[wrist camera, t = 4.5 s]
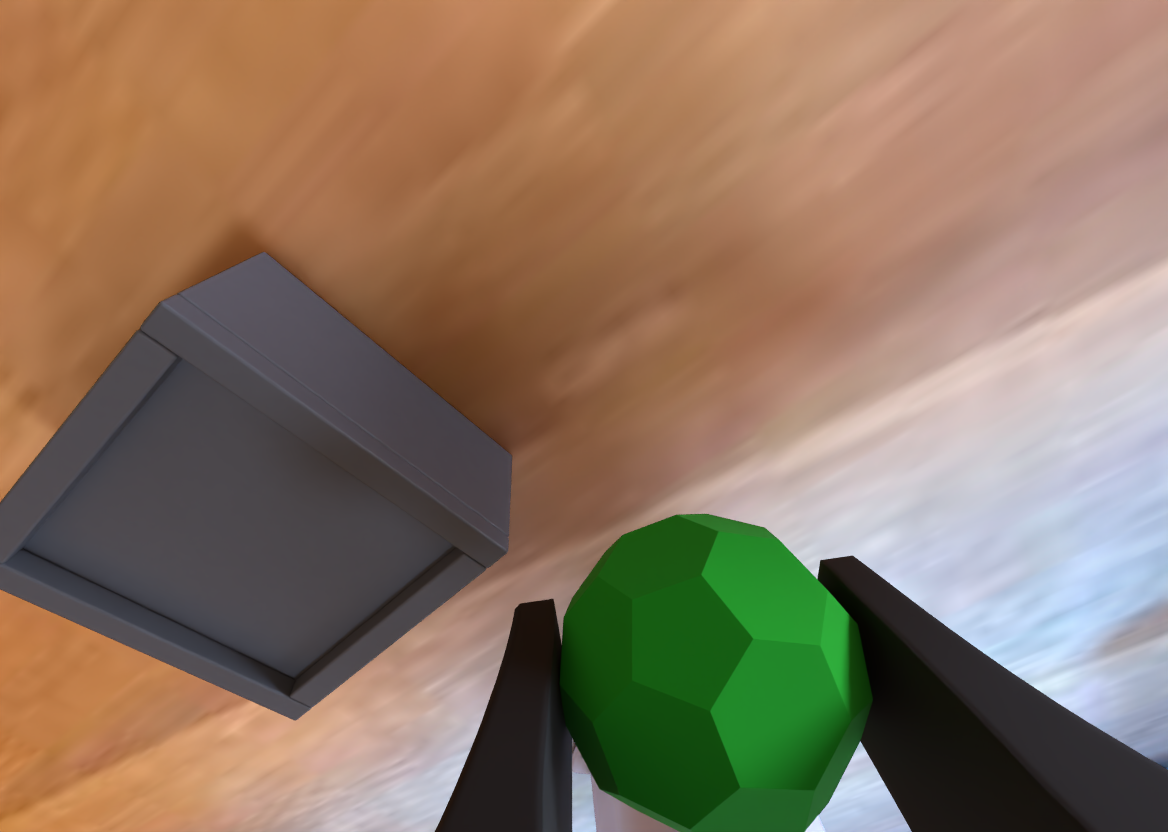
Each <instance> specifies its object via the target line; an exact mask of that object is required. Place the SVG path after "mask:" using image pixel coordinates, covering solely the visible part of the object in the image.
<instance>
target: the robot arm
mask: <svg viewBox="0 0 1168 832" xmlns="http://www.w3.org/2000/svg"><path fill="white" fill-rule="evenodd" d="M818 581H819V582H820V583H821V584H822V585H823V586H824V587H825V588H826V589H827V590H828V591H829V592H830V594H831V595H832V596H833V597H834V598H835V599H836V600H837V601H838V603H839V604H840V605H841V606H842V607H843V608H844V609H845V611H846V612H847V613H848V614H849V615H850V616H851V617H852V619H853V620H854V621H855V622H856V623H857V624H858V628H859V633H860V638H861V643H862V648H863V653H864V658H865V663H866V668H867V673H868V677H869V682H870V687H871V692H872V697H873V701H872V705H871V708H870V711H869V715H868V718H867V721H866V724H865V728H864V731H863V734H862V738H861V740H860V741H861V743H862V744H863V746H864V748H865V750H866V751H867V753H868V755H869V757H870V759H871V760H872V762H873V764H874V766H875V767H876V769H877V771H878V773H879V774H880V776H881V778H882V780H883V781H884V783H885V785H886V787H887V788H888V790H889V792H890V794H891V795H892V797H893V799H894V801H895V802H896V804H897V806H898V808H899V809H900V811H901V813H902V815H903V816H904V818H905V820H906V822H907V824H908V825H909V827H910V829H911V831H912V832H1168V769H1166V768H1164V767H1162V766H1160V765H1159V764H1157V763H1155V762H1153V761H1152V760H1150V759H1148V758H1147V757H1145V756H1143V755H1142V754H1140V753H1138V752H1137V751H1135V750H1133V749H1132V748H1130V747H1128V746H1127V745H1125V744H1123V743H1122V742H1120V741H1118V740H1117V739H1115V738H1113V737H1112V736H1110V735H1108V734H1107V733H1105V732H1103V731H1102V730H1100V729H1098V728H1097V727H1095V726H1093V725H1092V724H1090V723H1088V722H1087V721H1085V720H1083V719H1082V718H1080V717H1079V716H1077V715H1075V714H1074V713H1072V712H1071V711H1069V710H1068V709H1066V708H1064V707H1063V706H1061V705H1060V704H1058V703H1057V702H1055V701H1054V700H1052V699H1051V698H1049V697H1047V696H1046V695H1044V694H1043V693H1041V692H1040V691H1038V690H1037V689H1035V688H1034V687H1032V686H1031V685H1029V684H1028V683H1026V682H1025V681H1023V680H1022V679H1020V678H1019V677H1017V676H1016V675H1014V674H1013V673H1011V672H1010V671H1008V670H1007V669H1006V668H1004V667H1003V666H1001V665H1000V664H998V663H997V662H996V661H994V660H993V659H991V658H990V657H988V656H987V655H985V654H984V653H983V652H981V651H980V650H978V649H977V648H976V647H974V646H973V645H971V644H970V643H969V642H967V641H966V640H964V639H963V638H962V637H960V636H959V635H958V634H956V633H955V632H953V631H952V630H951V629H949V628H948V627H947V626H945V625H944V624H943V623H941V622H940V621H938V620H937V619H936V618H934V617H933V616H932V615H930V614H929V613H928V612H926V611H925V610H924V609H922V608H921V607H920V606H918V605H917V604H916V603H914V602H913V601H912V600H911V599H909V598H908V597H907V596H905V595H904V594H903V593H901V592H900V591H899V590H897V589H896V588H895V587H893V586H892V585H891V584H890V583H888V582H887V581H886V580H884V579H883V578H882V577H880V576H879V575H878V574H876V573H875V572H874V571H872V570H871V569H870V568H869V567H867V566H866V565H865V564H863V563H862V562H861V561H859V560H858V559H856V558H855V557H854V556H847V557H840V558H833V559H826V560H820V566H819V573H818ZM561 651H562V644H561V639H560V633H559V627H558V621H557V616H556V610H555V604H554V599H549V600H542V601H535V602H528V603H521V604H519V605H518V606H517V607H516V608H515V612H514V617H513V622H512V627H511V631H510V635H509V639H508V643H507V647H506V650H505V654H504V657H503V660H502V664H501V667H500V670H499V673H498V677H497V680H496V683H495V685H494V688H493V691H492V694H491V697H490V700H489V703H488V705H487V708H486V711H485V714H484V717H483V720H482V722H481V725H480V728H479V730H478V733H477V735H476V738H475V740H474V743H473V745H472V748H471V750H470V752H469V755H468V757H467V760H466V762H465V765H464V767H463V770H462V772H461V774H460V777H459V779H458V782H457V784H456V786H455V789H454V791H453V793H452V795H451V798H450V800H449V802H448V804H447V807H446V809H445V811H444V813H443V815H442V818H441V820H440V822H439V824H438V826H437V828H436V830H435V832H572V771H573V772H575V773H581V774H591V773H590V771H589V769H588V767H587V765H586V763H585V761H584V759H583V757H582V755H581V754H580V752H579V750H578V748H577V746H576V747H575V750H574V752H573V755H572V737H571V735H570V733H569V731H568V729H567V727H566V723H565V718H564V712H563V706H562V699H561V692H560V685H559V683H560V667H561ZM591 782H592V792H593V802H594V812H595V822H596V832H679V831H677V830H675V829H673V828H671V827H669V826H667V825H665V824H663V823H661V822H659V821H657V820H655V819H653V818H651V817H649V816H647V815H645V814H643V813H641V812H639V811H637V810H635V809H633V808H632V807H630V806H628V805H626V804H625V803H623V802H621V801H619V800H618V799H616V798H614V797H612V796H611V795H609V794H607V793H605V792H604V791H602V790H600V789H599V788H598V786H597V784H596V782H595V780H594V778H593V776H592V774H591ZM805 832H825V830H824V827H823V825H822V823H821V820H820V818H819V816H817V817H816V819H815V820H814V821H813V822H812V824H811V825H810V826H809V827H808V828H807V830H806V831H805Z"/></svg>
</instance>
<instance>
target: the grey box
mask: <svg viewBox="0 0 1168 832" xmlns="http://www.w3.org/2000/svg"><path fill="white" fill-rule="evenodd" d="M511 473H512V455H511V454H509V453H508V452H507V451H506V450H505V449H503V448H502V447H501V446H500V445H498V444H497V443H496V442H495V441H494V440H492V439H491V438H490V437H489V436H488V435H486V434H485V433H484V432H483V431H481V430H480V429H479V428H478V427H477V426H475V425H474V424H473V423H472V422H471V421H469V420H468V419H467V418H466V417H464V416H463V415H462V414H461V413H460V412H458V411H457V410H456V409H455V408H454V407H452V406H451V405H450V404H449V403H448V402H446V401H445V400H444V399H443V398H441V397H440V396H439V395H438V394H437V393H435V392H434V391H433V390H432V389H431V388H429V387H428V386H427V385H426V384H424V383H423V382H422V381H421V380H420V379H418V378H417V377H416V376H415V375H414V374H412V373H411V372H410V371H409V370H407V369H406V368H405V367H404V366H403V365H401V364H400V363H399V362H398V361H397V360H395V359H394V358H393V357H392V356H390V355H389V354H388V353H387V352H386V351H384V350H383V349H382V348H381V347H380V346H378V345H377V344H376V343H375V342H373V341H372V340H371V339H370V338H369V337H367V336H366V335H365V334H364V333H363V332H361V331H360V330H359V329H358V328H356V327H355V326H354V325H353V324H352V323H350V322H349V321H348V320H347V319H346V318H344V317H343V316H342V315H341V314H340V313H338V312H337V311H336V310H335V309H333V308H332V307H331V306H330V305H329V304H327V303H326V302H325V301H324V300H323V299H321V298H320V297H319V296H318V295H316V294H315V293H314V292H313V291H312V290H310V289H309V288H308V287H307V286H306V285H304V284H303V283H302V282H301V281H299V280H298V279H297V278H296V277H295V276H293V275H292V274H291V273H290V272H289V271H287V270H286V269H285V268H284V267H282V266H281V265H280V264H279V263H278V262H276V261H275V260H274V259H273V258H272V257H270V256H269V255H268V254H267V253H265V252H262V253H260V254H258V255H256V256H254V257H251V258H249V259H247V260H245V261H243V262H241V263H239V264H237V265H235V266H233V267H231V268H229V269H227V270H225V271H223V272H220V273H218V274H216V275H214V276H212V277H210V278H208V279H206V280H204V281H202V282H200V283H198V284H196V285H194V286H192V287H189V288H187V289H185V290H183V291H181V292H179V293H177V294H176V295H173V296H171V297H169V298H167V299H165V300H163V301H161V302H159V303H158V305H157V306H156V307H155V308H154V310H153V311H152V312H151V313H150V315H149V316H148V317H147V318H146V320H145V321H144V322H143V323H142V325H141V327H140V329H139V330H137V331H136V332H135V334H134V335H133V336H132V337H131V339H130V340H129V341H128V342H127V344H126V345H125V346H124V347H123V349H122V350H121V351H120V352H119V354H118V355H117V356H116V357H115V359H114V360H113V361H112V362H111V364H110V365H109V366H108V367H107V369H106V370H105V371H104V372H103V374H102V375H101V376H100V377H99V379H98V380H97V381H96V383H95V384H94V385H93V386H92V388H91V389H90V390H89V391H88V393H87V394H86V395H85V396H84V398H83V399H82V400H81V401H80V403H79V404H78V405H77V406H76V408H75V409H74V410H73V411H72V413H71V414H70V415H69V416H68V418H67V419H66V420H65V421H64V423H63V424H62V425H61V427H60V428H59V429H58V430H57V432H56V433H55V434H54V435H53V437H52V438H51V439H50V440H49V442H48V443H47V444H46V445H45V447H44V448H43V449H42V450H41V452H40V453H39V454H38V455H37V457H36V458H35V459H34V460H33V462H32V463H31V464H30V465H29V467H28V468H27V469H26V470H25V472H24V473H23V474H22V476H21V477H20V478H19V479H18V481H17V482H16V483H15V484H14V486H13V487H12V488H11V489H10V491H9V492H8V493H7V494H6V496H5V497H4V498H3V499H2V501H1V502H0V589H1V590H3V591H5V592H7V593H10V594H12V595H14V596H16V597H19V598H21V599H23V600H25V601H28V602H30V603H32V604H34V605H37V606H39V607H41V608H43V609H46V610H48V611H50V612H52V613H55V614H57V615H59V616H61V617H64V618H66V619H68V620H70V621H73V622H75V623H77V624H79V625H82V626H84V627H86V628H88V629H91V630H93V631H95V632H97V633H100V634H102V635H104V636H106V637H109V638H111V639H113V640H115V641H118V642H120V643H122V644H124V645H126V646H129V647H131V648H133V649H135V650H138V651H140V652H142V653H144V654H147V655H149V656H151V657H153V658H156V659H158V660H160V661H162V662H165V663H167V664H169V665H171V666H174V667H176V668H178V669H180V670H183V671H185V672H187V673H189V674H192V675H194V676H196V677H198V678H201V679H203V680H205V681H207V682H210V683H212V684H214V685H216V686H219V687H221V688H223V689H225V690H228V691H230V692H232V693H234V694H237V695H239V696H241V697H243V698H246V699H248V700H250V701H252V702H255V703H257V704H259V705H261V706H263V707H266V708H268V709H270V710H272V711H275V712H277V713H279V714H281V715H284V716H286V717H288V718H290V719H293V720H297V719H299V718H300V717H301V716H302V715H304V714H305V713H306V712H307V711H309V710H310V709H311V708H312V707H313V706H315V705H316V704H317V703H319V702H320V701H321V700H322V699H324V698H325V697H326V696H327V695H329V694H330V693H331V692H332V691H334V690H335V689H336V688H337V687H339V686H340V685H341V684H343V683H344V682H345V681H346V680H348V679H349V678H350V677H351V676H353V675H354V674H355V673H356V672H358V671H359V670H360V669H361V668H363V667H364V666H365V665H366V664H368V663H369V662H370V661H372V660H373V659H374V658H375V657H377V656H378V655H379V654H380V653H382V652H383V651H384V650H385V649H387V648H388V647H389V646H390V645H392V644H393V643H394V642H395V641H397V640H398V639H399V638H401V637H402V636H403V635H404V634H406V633H407V632H408V631H409V630H411V629H412V628H413V627H414V626H416V625H417V624H418V623H419V622H421V621H422V620H423V619H424V618H426V617H427V616H428V615H430V614H431V613H432V612H433V611H435V610H436V609H437V608H438V607H440V606H441V605H442V604H443V603H445V602H446V601H447V600H448V599H450V598H451V597H452V596H454V595H455V594H456V593H457V592H459V591H460V590H461V589H462V588H464V587H465V586H466V585H467V584H469V583H470V582H471V581H472V580H474V579H475V578H476V577H477V576H479V575H480V574H481V573H483V572H484V571H485V570H486V568H489V567H490V566H491V565H493V564H494V563H495V562H496V561H498V560H499V559H500V558H501V557H503V556H504V555H505V554H506V553H507V552H508V543H509V538H508V536H509V522H510V498H511Z"/></svg>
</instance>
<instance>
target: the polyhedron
mask: <svg viewBox="0 0 1168 832" xmlns="http://www.w3.org/2000/svg"><path fill="white" fill-rule="evenodd" d="M559 685H560V692H561V699H562V706H563V712H564V718H565V723H566V727H567V729H568V731H569V733H570V735H571V737H572V738H573V740H574V742H575V744H576V746H577V748H578V750H579V752H580V754H581V755H582V757H583V759H584V761H585V763H586V765H587V767H588V769H589V771H590V773H591V774H592V776H593V778H594V780H595V782H596V784H597V786H598V788H599V789H600V790H602V791H604V792H605V793H607V794H609V795H611V796H612V797H614V798H616V799H618V800H619V801H621V802H623V803H625V804H626V805H628V806H630V807H632V808H633V809H635V810H637V811H639V812H641V813H643V814H645V815H647V816H649V817H651V818H653V819H655V820H657V821H659V822H661V823H663V824H665V825H667V826H669V827H671V828H673V829H675V830H677V831H679V832H805V831H806V830H807V828H808V827H809V826H810V825H811V824H812V822H813V821H814V820H815V819H816V817H817V816H818V815H819V814H820V813H821V811H822V810H823V809H824V808H825V806H826V805H827V804H828V803H829V801H830V799H831V797H832V795H833V793H834V791H835V789H836V787H837V785H838V783H839V781H840V779H841V777H842V775H843V774H844V772H845V770H846V768H847V766H848V764H849V762H850V760H851V758H852V756H853V754H854V752H855V750H856V748H857V746H858V744H859V742H860V740H861V738H862V734H863V731H864V728H865V724H866V721H867V718H868V715H869V711H870V708H871V705H872V701H873V697H872V692H871V687H870V682H869V677H868V673H867V668H866V663H865V658H864V653H863V648H862V643H861V638H860V633H859V628H858V624H857V623H856V622H855V621H854V620H853V619H852V617H851V616H850V615H849V614H848V613H847V612H846V611H845V609H844V608H843V607H842V606H841V605H840V604H839V603H838V601H837V600H836V599H835V598H834V597H833V596H832V595H831V594H830V592H829V591H828V590H827V589H826V588H825V587H824V586H823V585H822V584H821V583H820V582H819V581H818V580H817V579H816V578H815V577H814V576H813V575H812V574H811V573H810V571H809V570H808V569H807V568H806V567H805V566H804V565H803V564H802V563H801V562H800V561H799V560H798V559H797V558H796V557H795V556H794V555H793V554H792V553H791V552H790V551H789V550H788V549H787V548H786V547H785V546H784V545H783V544H782V542H781V541H780V540H779V539H777V538H776V537H775V536H774V535H773V534H772V533H770V532H769V531H768V530H767V529H766V528H764V527H760V526H756V525H751V524H747V523H743V522H739V521H735V520H730V519H726V518H722V517H718V516H714V515H709V514H686V515H674V516H672V517H669V518H666V519H664V520H661V521H658V522H656V523H653V524H650V525H648V526H645V527H642V528H640V529H637V530H634V531H632V532H629V533H626V534H624V535H622V536H621V537H620V538H619V539H618V540H617V541H616V542H615V543H614V544H613V545H612V546H611V547H610V548H609V549H608V550H607V551H606V552H605V553H604V554H603V556H602V557H601V559H600V560H599V561H598V563H597V564H596V566H595V567H594V568H593V570H592V571H591V572H590V574H589V575H588V577H587V578H586V579H585V581H584V582H583V584H582V585H581V586H580V588H579V589H578V591H577V592H576V593H575V595H574V596H573V598H572V600H571V602H570V604H569V607H568V609H567V611H566V613H565V616H564V619H563V635H562V651H561V667H560V683H559Z"/></svg>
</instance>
